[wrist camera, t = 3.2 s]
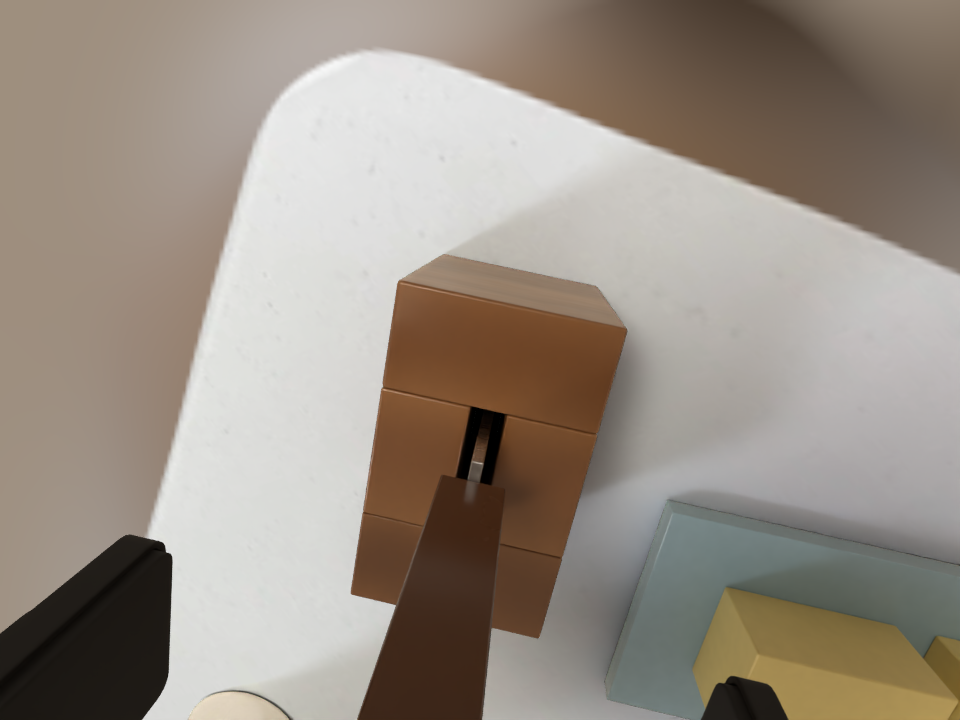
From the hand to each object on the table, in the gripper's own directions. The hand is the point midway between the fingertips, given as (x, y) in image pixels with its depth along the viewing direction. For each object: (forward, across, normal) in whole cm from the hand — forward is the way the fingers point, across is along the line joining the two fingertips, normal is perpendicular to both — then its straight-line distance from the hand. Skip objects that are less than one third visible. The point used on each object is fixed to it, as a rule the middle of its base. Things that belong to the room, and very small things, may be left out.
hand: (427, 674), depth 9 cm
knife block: (+14, 0, 0) cm, 14 cm away
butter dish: (+14, -16, +8) cm, 22 cm away
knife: (+14, 0, 0) cm, 14 cm away
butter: (+12, -15, +8) cm, 21 cm away
